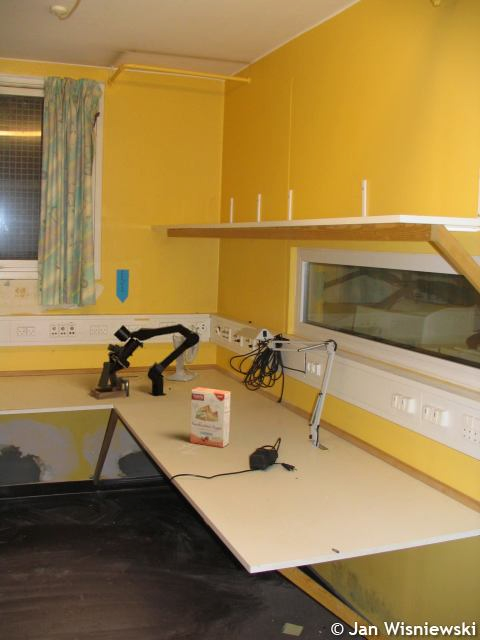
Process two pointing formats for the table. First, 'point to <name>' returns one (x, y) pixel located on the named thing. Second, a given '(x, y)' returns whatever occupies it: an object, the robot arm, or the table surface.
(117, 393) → the cradle
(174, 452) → the table surface
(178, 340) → the pale grey desk fan
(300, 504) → the table surface
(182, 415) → the table surface
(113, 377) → the phone stand
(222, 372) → the table surface
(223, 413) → the cracker box
